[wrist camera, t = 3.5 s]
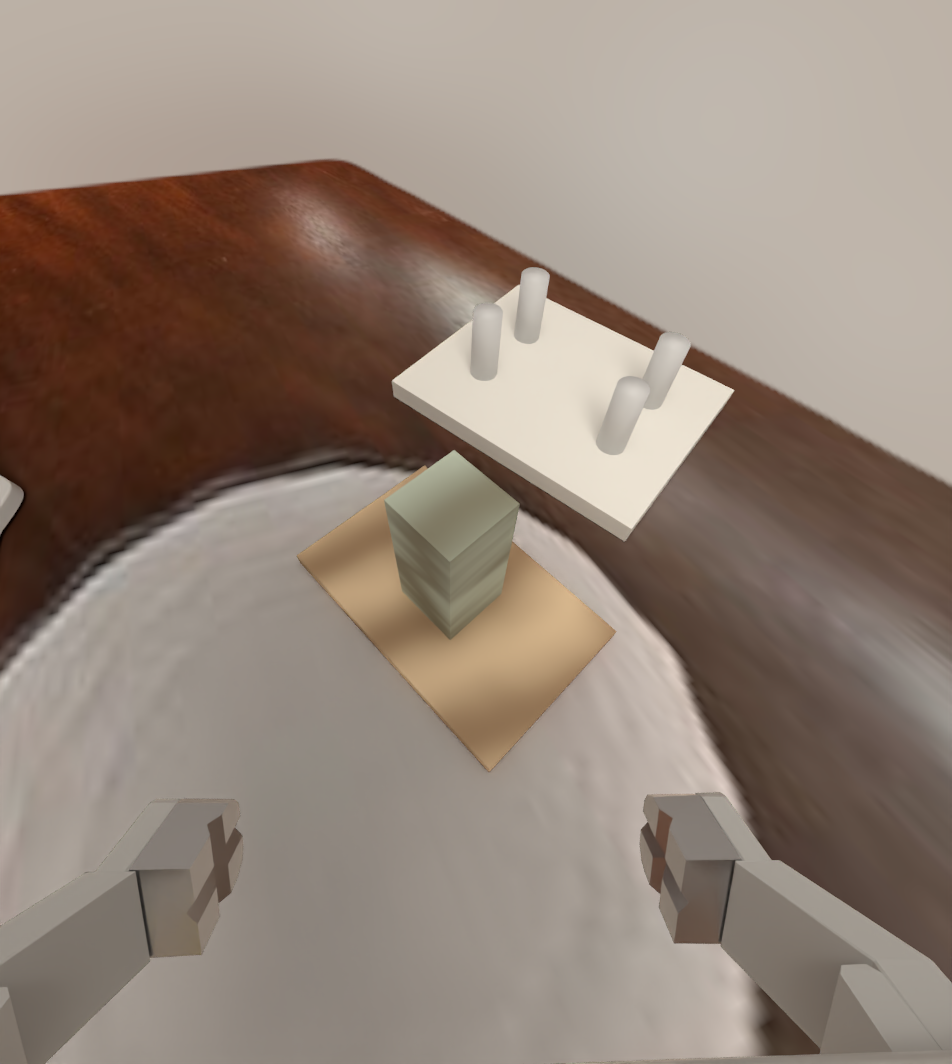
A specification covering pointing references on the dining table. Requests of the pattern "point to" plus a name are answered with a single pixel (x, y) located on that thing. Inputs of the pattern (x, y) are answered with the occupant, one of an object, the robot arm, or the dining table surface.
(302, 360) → the dining table surface
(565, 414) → the peg plate
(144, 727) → the dining table surface
